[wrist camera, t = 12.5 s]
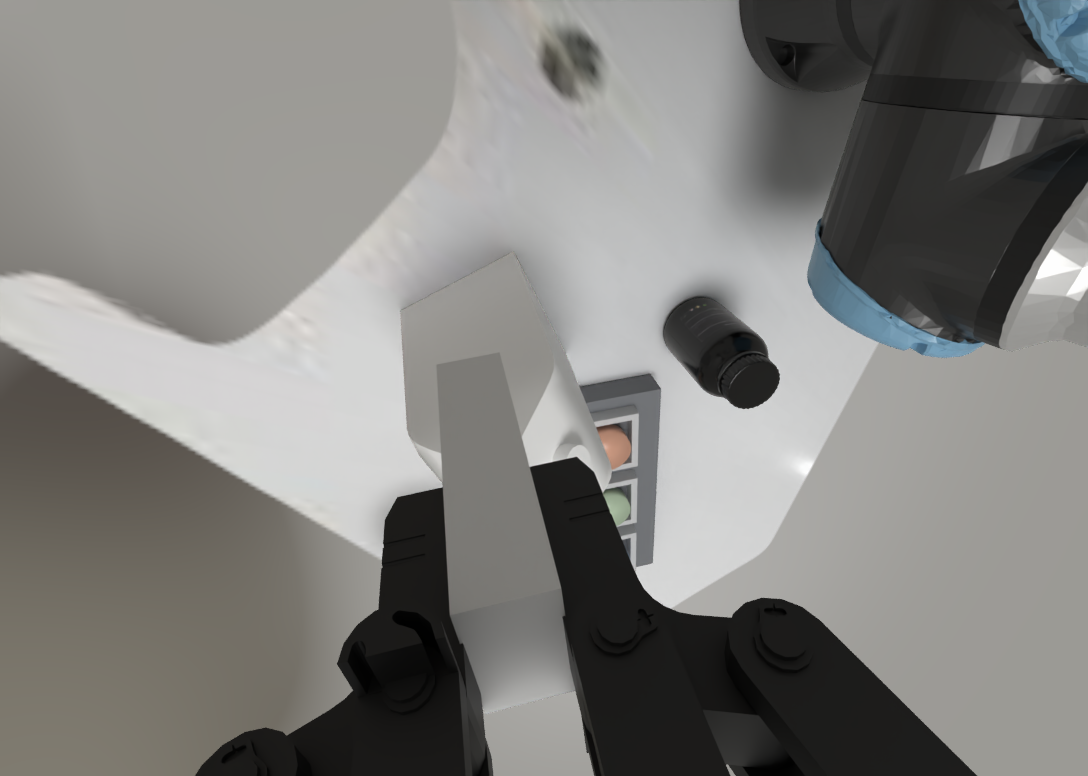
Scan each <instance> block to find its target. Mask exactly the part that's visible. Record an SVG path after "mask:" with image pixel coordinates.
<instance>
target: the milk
mask: <svg viewBox="0 0 1088 776" xmlns="http://www.w3.org/2000/svg"><path fill="white" fill-rule="evenodd" d="M400 316H401V333H402V350H403V367H404V384H405V402H406V419H407V430H408V434H409V437H410V439H411V440H412V442H413V444H414V446H415V448H416V450H417V452H418V454H419V456H420V457H421V458H422V459H423V460H424V462H425V463H426V464H427V465H428V466H429V468H430V469H431V470H432V471H433V472H434V474H435V475H436V476H437V477H438V478H439V480H440V481H441V482H442V483H443V479H442V461H441V442H440V423H439V405H438V386H437V367H436V365H437V364H442V363H447V362H452V361H457V360H463V359H468V358H473V357H478V356H483V355H488V354H493V353H499V352H500V356H501V360H502V364H503V367H504V371H505V375H506V379H507V383H508V387H509V390H510V394H511V398H512V402H513V406H514V409H515V413H516V417H517V421H518V425H519V429H520V432H521V436H522V440H523V444H524V448H525V452H526V455H527V459H528V463H529V467H531V466H536V465H540V464H545V463H550V462H554V461H559V460H563V459H568V458H573V457H578V458H579V459H580V460H581V461H582V462H583V463H585V464H586V465H587V466H588V467H589V468H590V469H591V470H592V471H594V473H595V475H596V478H597V480H598V483H599V485H600V488H601V490H602V493H603V492H604V490H605V489H606V487H607V485H608V483H609V481H610V479H611V474H612V468H611V463H610V461H609V458H608V456H607V453H606V451H605V448H604V446H603V444H602V441H601V439H600V436H599V434H598V431H597V429H596V426H595V424H594V421H593V419H592V417H591V414H590V412H589V409H588V407H587V404H586V402H585V399H584V397H583V394H582V392H581V390H580V387H579V385H578V382H577V380H576V377H575V375H574V372H573V370H572V367H571V365H570V362H569V360H568V358H567V355H566V353H565V351H564V349H563V347H562V345H561V343H560V341H559V339H558V337H557V335H556V333H555V331H554V329H553V327H552V325H551V323H550V322H549V320H548V318H547V316H546V314H545V312H544V310H543V308H542V306H541V304H540V302H539V300H538V298H537V296H536V294H535V292H534V290H533V288H532V286H531V284H530V282H529V280H528V278H527V276H526V274H525V272H524V271H523V269H522V267H521V265H520V263H519V261H518V259H517V257H516V255H515V253H514V251H513V252H511V253H510V254H508V255H506V256H504V257H502V258H500V259H498V260H496V261H494V262H492V263H490V264H489V265H487V266H485V267H483V268H481V269H479V270H477V271H475V272H473V273H471V274H470V275H468V276H466V277H464V278H462V279H460V280H458V281H456V282H454V283H452V284H450V285H449V286H447V287H445V288H443V289H441V290H439V291H437V292H435V293H433V294H431V295H430V296H428V297H426V298H424V299H422V300H420V301H418V302H416V303H414V304H412V305H410V306H409V307H407V308H405V309H403V310H401V311H400Z"/></svg>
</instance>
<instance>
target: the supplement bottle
mask: <svg viewBox="0 0 1088 776" xmlns="http://www.w3.org/2000/svg"><path fill="white" fill-rule="evenodd" d="M664 339H665V343H666V345H667V347H668V349H669V350H670V352H671V353H672V354H673V355H674V356H675V358H676V359H677V360H678V361H679V362H680V363H681V365H682V366H683V367H684V368H685V369H686V370H687V372H688V373H689V374H690V375H691V376H692V377H693V379H694V380H695V381H696V382H697V383H698V384H699V385H700V387H701V388H702V389H703V390H704V391H706V392H707V393H709V394H711V395H713V396H717V397H724V398H725V399H727V400H728V401H729V402H730V403H731V404H733V405H734V406H735V407H738V408H742V409H745V408H747V409H749V408H754V407H755V406H759V405H760V404H763V403H764V402H765V401H767V400H768V399H769V398H770V397H771V396H772V394H773V393H774V392H775V390H776V389H777V386H778V384H779V380H780V377H779V376H780V374H779V370H778V369H777V367H776V366H775V365H774V364H773V363H772V362H771V361H770V360H769V359H768V350H767V346H766V344H765V342H764V341H763V339H762V338H761V337H760V336H759V335H758V334H757V333H755V332H754V331H753V330H752V329H750V328H749V327H748V326H747V325H746V324H744V323H743V322H742V321H741V320H739V319H738V318H737V317H736V316H734V315H733V314H732V313H731V312H730V311H728V310H727V309H726V308H725V307H723V306H722V305H721V304H719V303H718V302H717V301H715V300H713V299H710V298H695V299H691V300H688V301H686V302H684V303H683V304H681V305H680V306H678V307H677V308H676V309H675V310H674V311H673V312H672V314H671V315H670V317H669V318H668V320H667V322H666V325H665V329H664Z"/></svg>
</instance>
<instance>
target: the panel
mask: <svg viewBox="0 0 1088 776" xmlns="http://www.w3.org/2000/svg"><path fill="white" fill-rule="evenodd" d="M580 390H581V392H582V394H583V397H584V399H585V402H586V404H587V407H588V409H589V412H590V414H591V417H592V419H593V421H594V424H595V426H596V427H599V426H604V425H610V424H612V425H616V426H618V427H620V428H621V429H622V430H623V431H624V432H625V434H626V436H627V438H628V440H629V442H630V444H631V453H630V455H629V457H628V459H627V460H626V461H625V462H624V463H623V464H622V465H621V466H619V467H618V468H616V469H613V470H612V474H611V479H610V481H609V483H608V485H607V487H606V489H610V488H618V489H620V490H622V491H623V492H624V494H625V496H626V498H627V500H628V502H629V504H630V507H631V511H630V514H629V516H628V518H627V519H626V520H625V521H624V522H623V523H621V524H620V525H618V526H616V527H617V529H618V531H619V534H620V536H621V539H622V541H623V544H624V545H625V547H626V550H627V552H628V555H629V557H630V561H631V563H632V566H633V568H634V570H635V571H636V567H638V566H643V565H647V564H651V563H653V546H654V525H655V504H656V483H657V462H658V441H659V420H660V399H661V388H660V387H659V385H658V384H657V383H656V381H655V380H654V378H653V377H652V376H651V374H648V375H642V376H637V377H631V378H626V379H621V380H615V381H610V382H604V383H599V384H593V385H588V386H583V387H580Z"/></svg>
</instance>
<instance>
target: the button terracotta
mask: <svg viewBox="0 0 1088 776" xmlns="http://www.w3.org/2000/svg"><path fill="white" fill-rule="evenodd" d="M596 429H597V431H598V434H599V436H600V439H601V441H602V444H603V446H604V448H605V451H606V453H607V456H608V458H609V461H610V463H611V468H612V470H613V469H616V468H618V467H619V466H621V465H622V464H623V463H624V462H625V461H626V460H627V459H628V457H629V455H630V453H631V444H630V442H629V440H628V438H627V436H626V434H625V432H624V431H623V430H622V429H621V428H620V427H618V426H616V425H612V424H610V425H604V426H599V427H596Z"/></svg>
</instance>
